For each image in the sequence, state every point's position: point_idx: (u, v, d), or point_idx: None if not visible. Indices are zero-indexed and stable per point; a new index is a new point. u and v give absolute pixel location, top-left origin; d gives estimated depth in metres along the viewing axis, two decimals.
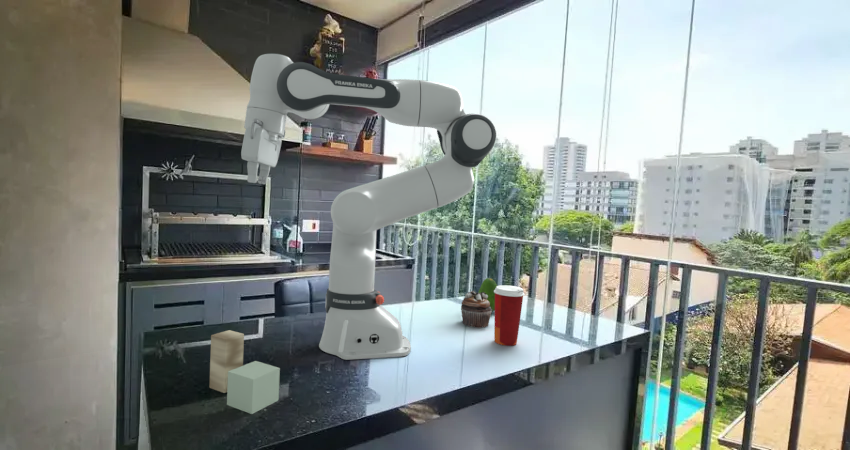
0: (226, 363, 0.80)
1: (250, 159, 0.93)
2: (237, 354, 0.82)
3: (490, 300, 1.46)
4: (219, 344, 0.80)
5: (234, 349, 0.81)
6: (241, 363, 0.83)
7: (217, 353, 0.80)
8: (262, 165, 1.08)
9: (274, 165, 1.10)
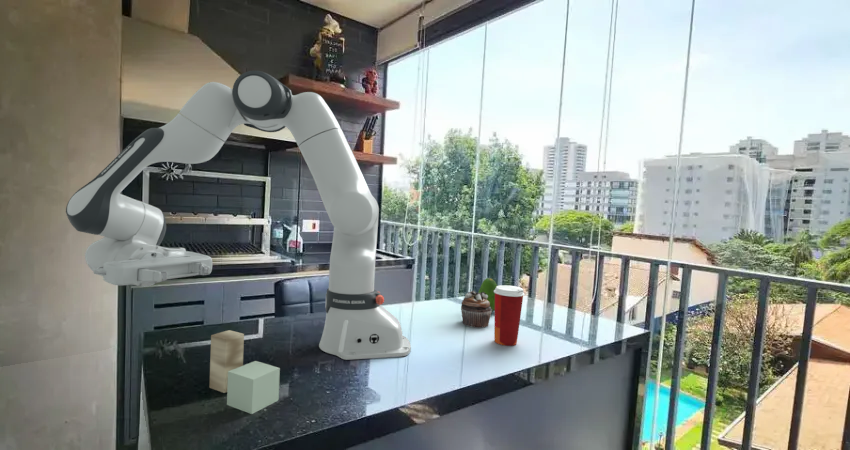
0: (227, 363, 0.80)
1: (120, 275, 0.80)
2: (237, 354, 0.82)
3: (490, 300, 1.46)
4: (219, 344, 0.80)
5: (234, 349, 0.81)
6: (241, 363, 0.83)
7: (217, 353, 0.80)
8: (194, 270, 0.93)
9: (204, 258, 0.96)
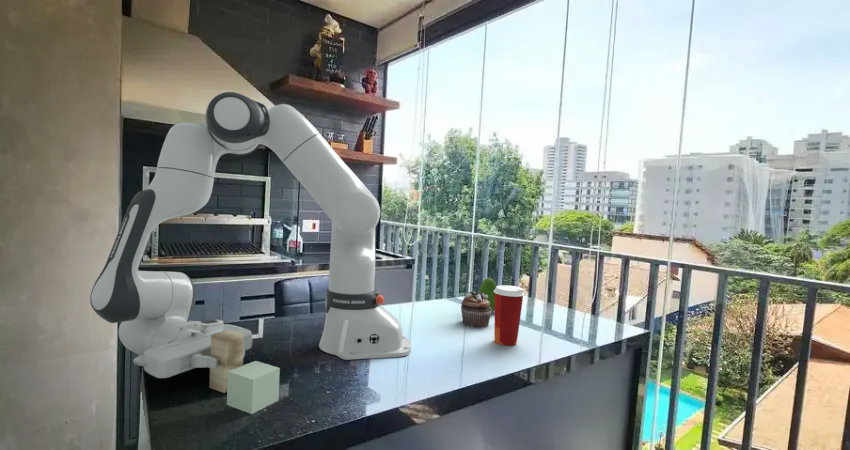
0: (227, 363, 0.80)
1: (163, 367, 0.75)
2: (237, 354, 0.82)
3: (490, 300, 1.46)
4: (219, 344, 0.80)
5: (234, 349, 0.81)
6: (241, 363, 0.83)
7: (217, 353, 0.80)
8: None
9: (244, 334, 0.91)
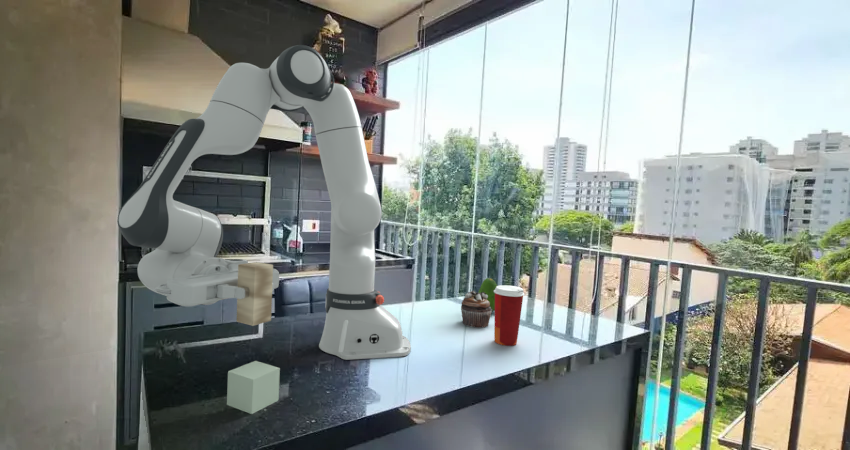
0: (255, 293, 0.74)
1: (189, 294, 0.70)
2: (266, 286, 0.76)
3: (490, 300, 1.46)
4: (247, 273, 0.74)
5: (263, 280, 0.75)
6: (270, 296, 0.77)
7: (245, 283, 0.75)
8: None
9: None
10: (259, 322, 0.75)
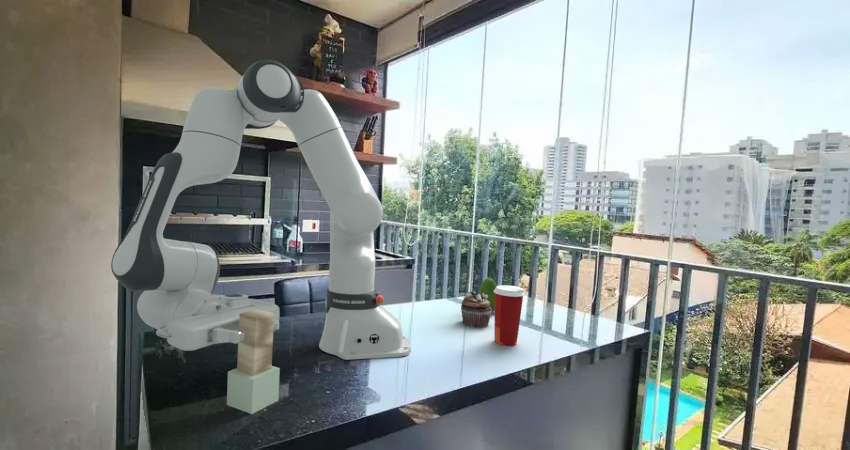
0: (256, 343, 0.74)
1: (190, 339, 0.69)
2: (267, 334, 0.76)
3: (490, 299, 1.46)
4: (248, 323, 0.74)
5: (264, 329, 0.75)
6: (271, 344, 0.77)
7: (246, 333, 0.75)
8: None
9: (271, 308, 0.85)
10: (260, 371, 0.75)
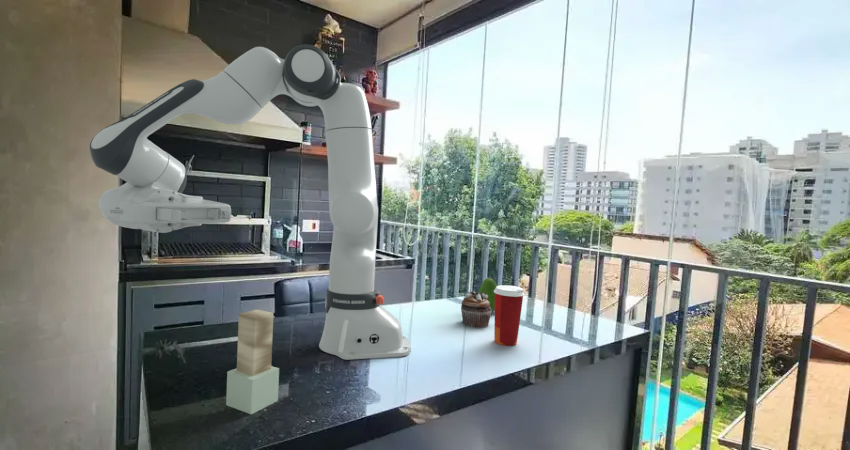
0: (256, 343, 0.74)
1: (138, 212, 0.76)
2: (266, 334, 0.76)
3: (490, 300, 1.46)
4: (247, 323, 0.74)
5: (263, 329, 0.75)
6: (270, 345, 0.77)
7: (245, 333, 0.75)
8: (213, 216, 0.89)
9: (223, 205, 0.92)
10: (259, 371, 0.75)
